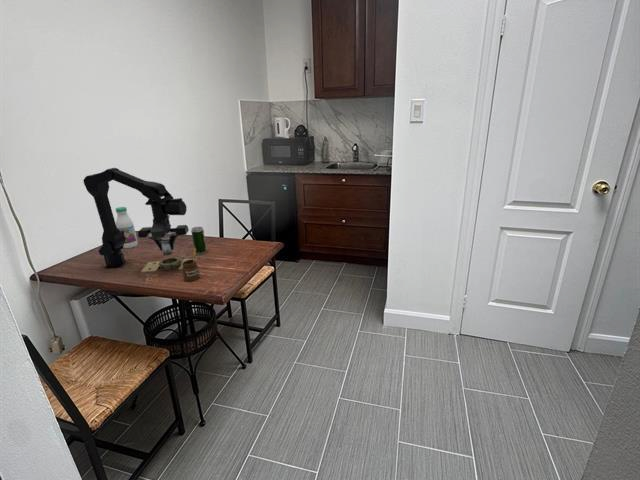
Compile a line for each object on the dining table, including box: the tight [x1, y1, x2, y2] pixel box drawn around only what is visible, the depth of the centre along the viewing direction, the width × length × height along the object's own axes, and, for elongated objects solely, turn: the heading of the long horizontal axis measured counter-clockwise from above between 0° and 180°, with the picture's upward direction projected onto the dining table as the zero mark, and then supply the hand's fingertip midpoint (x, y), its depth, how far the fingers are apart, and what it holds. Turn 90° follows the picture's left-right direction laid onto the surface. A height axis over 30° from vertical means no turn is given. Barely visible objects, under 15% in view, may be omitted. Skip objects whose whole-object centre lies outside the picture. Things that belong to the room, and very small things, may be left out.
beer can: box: [191, 226, 207, 255], centre depth 160 cm, size 5×5×12 cm
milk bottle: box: [115, 206, 139, 249], centre depth 170 cm, size 8×8×20 cm
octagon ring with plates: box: [140, 256, 199, 274], centre depth 148 cm, size 21×10×2 cm, turn 97°
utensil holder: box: [179, 247, 200, 282], centre depth 134 cm, size 6×6×12 cm
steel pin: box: [159, 237, 174, 256], centre depth 145 cm, size 5×5×6 cm
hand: (167, 250), depth 146 cm, fingers closed on steel pin, 4 cm apart
